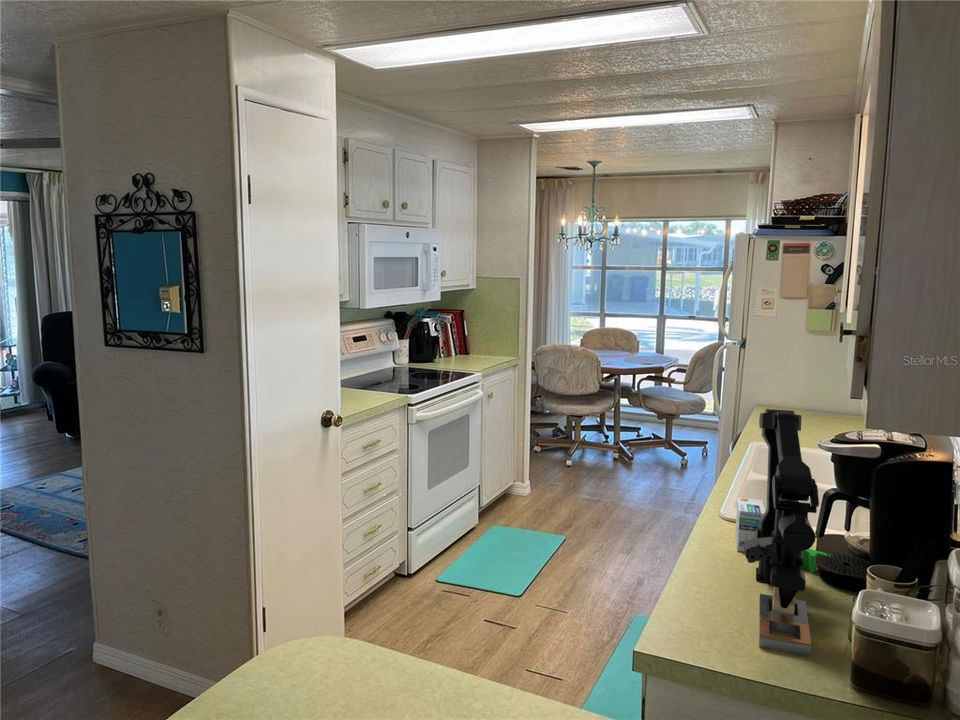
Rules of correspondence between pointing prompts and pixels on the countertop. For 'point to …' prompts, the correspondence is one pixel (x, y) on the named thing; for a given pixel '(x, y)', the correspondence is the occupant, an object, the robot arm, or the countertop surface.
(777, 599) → the beech peg
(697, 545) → the countertop surface
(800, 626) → the grey board
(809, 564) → the pipe clamp
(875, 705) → the countertop surface
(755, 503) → the light bulb box
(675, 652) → the countertop surface
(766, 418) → the robot arm
